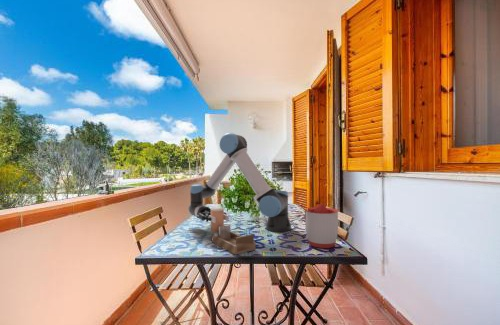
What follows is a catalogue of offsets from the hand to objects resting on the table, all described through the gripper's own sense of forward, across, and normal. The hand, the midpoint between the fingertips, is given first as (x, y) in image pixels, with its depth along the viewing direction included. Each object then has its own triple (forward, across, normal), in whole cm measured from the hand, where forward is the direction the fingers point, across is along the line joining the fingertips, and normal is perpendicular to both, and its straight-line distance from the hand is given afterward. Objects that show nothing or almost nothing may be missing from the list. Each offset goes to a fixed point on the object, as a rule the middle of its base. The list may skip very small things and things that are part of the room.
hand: (221, 219), depth 132 cm
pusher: (+3, 0, -10) cm, 10 cm away
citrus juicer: (+34, -35, -11) cm, 50 cm away
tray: (+11, 0, -11) cm, 15 cm away
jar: (-5, 0, -7) cm, 9 cm away
